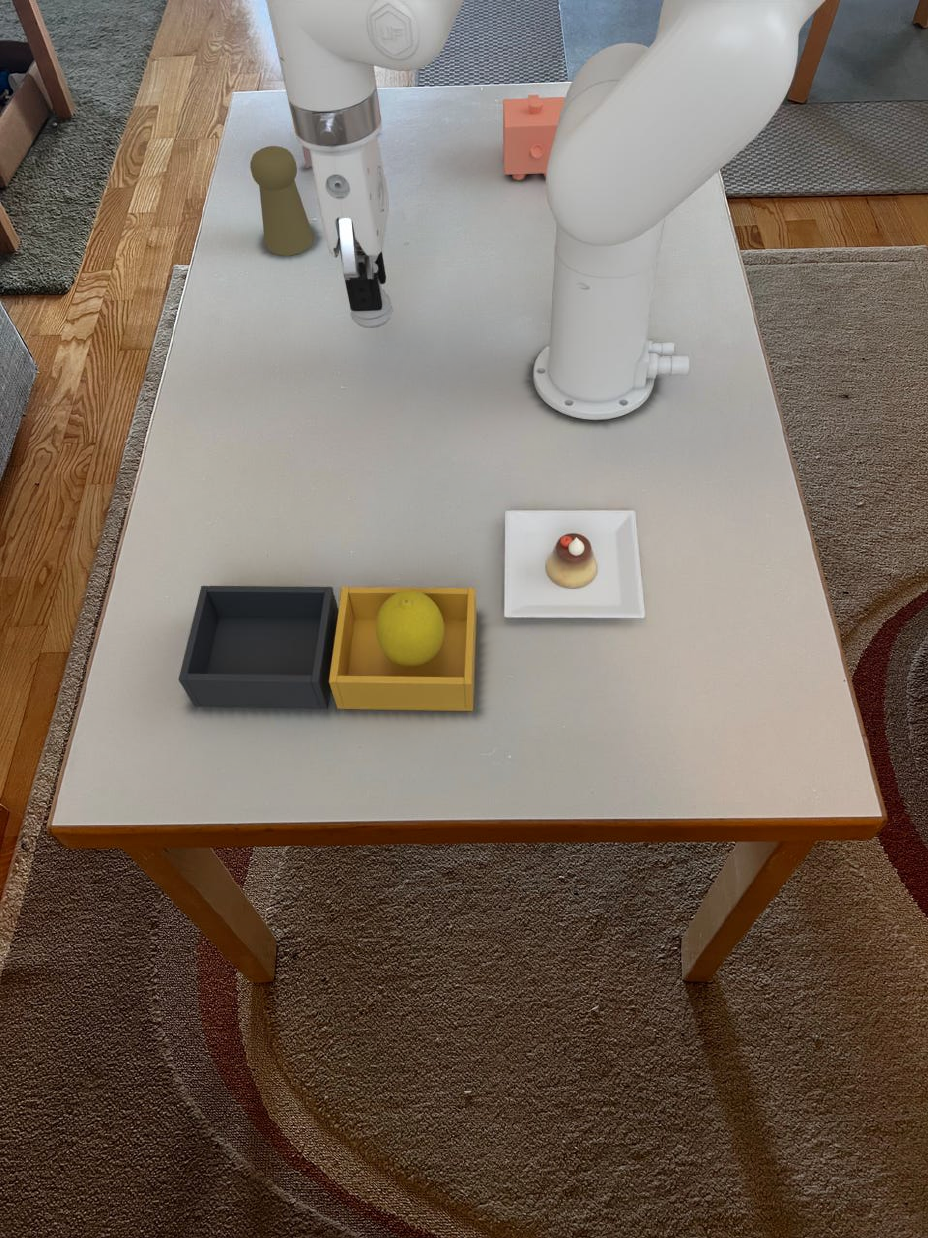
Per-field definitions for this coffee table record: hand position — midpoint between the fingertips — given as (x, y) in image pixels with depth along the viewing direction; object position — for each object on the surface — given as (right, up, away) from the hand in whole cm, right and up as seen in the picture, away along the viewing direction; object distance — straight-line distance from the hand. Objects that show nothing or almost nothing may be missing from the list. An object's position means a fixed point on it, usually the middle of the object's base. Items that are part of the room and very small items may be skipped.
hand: (368, 294), depth 92 cm
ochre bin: (+5, -37, -15) cm, 40 cm away
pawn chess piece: (-12, +13, +19) cm, 26 cm away
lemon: (+6, -36, -15) cm, 40 cm away
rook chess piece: (0, -2, +2) cm, 3 cm away
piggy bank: (+19, +25, +26) cm, 41 cm away
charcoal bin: (-7, -37, -15) cm, 40 cm away
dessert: (+19, -29, -10) cm, 36 cm away
